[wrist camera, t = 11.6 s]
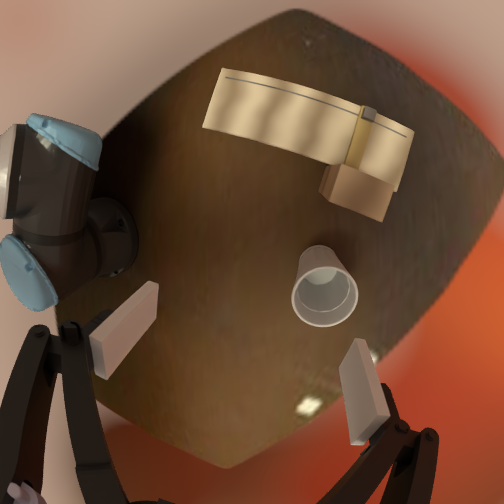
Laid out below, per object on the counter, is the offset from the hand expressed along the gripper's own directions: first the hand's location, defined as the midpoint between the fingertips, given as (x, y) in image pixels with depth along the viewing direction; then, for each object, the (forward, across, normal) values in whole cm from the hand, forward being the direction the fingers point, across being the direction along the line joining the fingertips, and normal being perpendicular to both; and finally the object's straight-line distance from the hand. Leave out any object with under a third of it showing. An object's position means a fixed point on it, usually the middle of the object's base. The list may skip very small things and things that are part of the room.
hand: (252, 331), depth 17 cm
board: (+27, +1, +17) cm, 32 cm away
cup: (+26, +8, -3) cm, 28 cm away
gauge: (+26, +8, +15) cm, 31 cm away
